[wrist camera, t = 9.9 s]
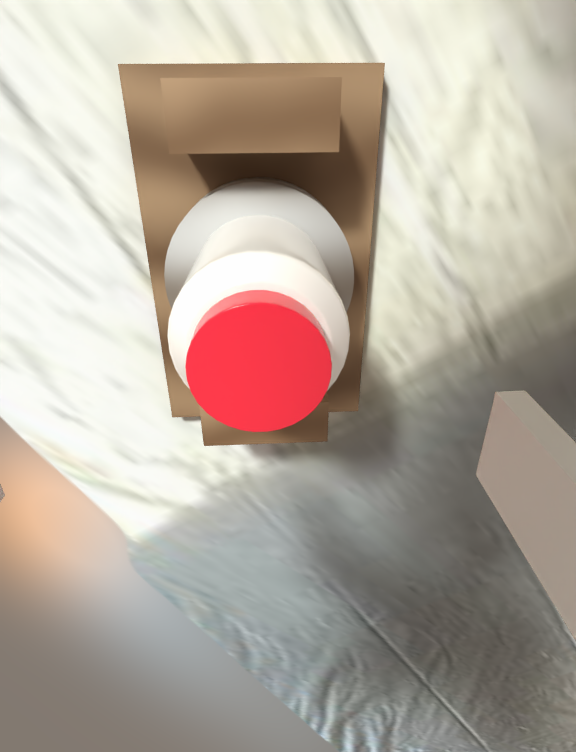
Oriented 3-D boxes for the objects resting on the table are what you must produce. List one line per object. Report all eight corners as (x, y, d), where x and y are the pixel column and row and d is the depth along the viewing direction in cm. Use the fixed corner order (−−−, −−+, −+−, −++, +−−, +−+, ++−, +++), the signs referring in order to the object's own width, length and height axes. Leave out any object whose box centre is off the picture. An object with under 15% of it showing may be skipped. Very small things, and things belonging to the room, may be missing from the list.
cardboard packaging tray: (124, 66, 25) (85, 50, 20) (379, 65, 26) (411, 49, 20) (175, 408, 36) (159, 459, 30) (355, 402, 36) (371, 451, 31)
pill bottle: (288, 187, 24) (305, 227, 15) (347, 308, 28) (393, 405, 18) (166, 256, 26) (109, 335, 16) (237, 364, 29) (224, 481, 20)
